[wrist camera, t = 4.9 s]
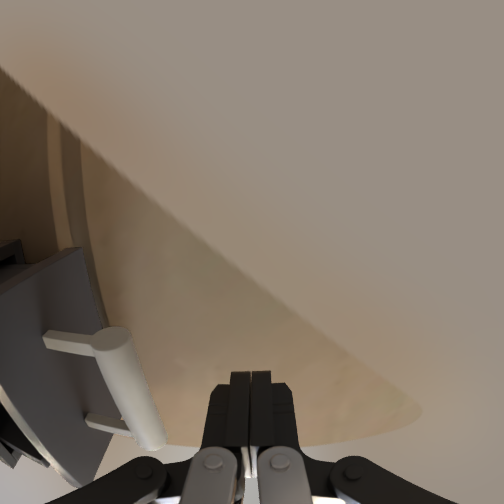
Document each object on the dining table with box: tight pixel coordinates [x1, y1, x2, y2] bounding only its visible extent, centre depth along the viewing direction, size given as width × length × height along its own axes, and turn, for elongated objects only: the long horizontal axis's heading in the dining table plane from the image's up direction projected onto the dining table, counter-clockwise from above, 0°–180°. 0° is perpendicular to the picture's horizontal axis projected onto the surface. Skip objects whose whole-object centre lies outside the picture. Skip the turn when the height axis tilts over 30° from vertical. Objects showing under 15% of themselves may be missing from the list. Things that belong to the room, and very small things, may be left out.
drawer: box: [0, 247, 168, 488], centre depth 10 cm, size 17×10×8 cm, turn 93°
